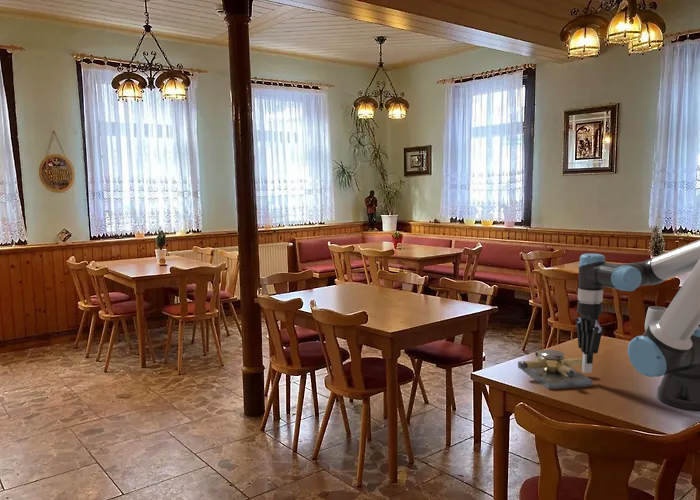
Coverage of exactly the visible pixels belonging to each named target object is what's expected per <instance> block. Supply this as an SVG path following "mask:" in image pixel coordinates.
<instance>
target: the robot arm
mask: <svg viewBox="0 0 700 500" xmlns="http://www.w3.org/2000/svg"><path fill="white" fill-rule="evenodd" d="M689 272H690V273H689ZM687 273H689V274H688V276H687V277H686V279H685V281H683V284H682V285H681V287H680V288H679V290H678V291H677V292H676V294H675V296H674V297H673V299H672V301H671V302H669V303H670V304H669V305H668V306H667V310H666V311H665V313H664V314H663V316H662V317H661V319H660V320H658V321H653V322H651V324H650V325H649V326H648V328H647V329H646V331H644V333H643V334H642V335H637V336H635V337H634V338H632V339H631V340H630V341H629V343H628V346H627V356H628V357H629V362H630V363H631V365H632V367H633V368H634V369H635V370H636V371H637V372H638V373H640V375H643V376H645V377H647V378H654V377H657V378H659V377H662V376H663V377H662V379H661V381H660V384H659V386H658V387H657V392H656V397H657V399H658V400H659V401H661V403H664V404H666V405H669V406H672V407H675V408H679V409H682V410H683V409H684V410H688V411H700V239H697V240H695V241H692V242H690V243H687V244H684V245H682V246H679V247H677V248H675V249H671V250H669V251H666V252H664V253H661V254H659V255H656V256H654V257H651V258H649V259H646V260H644V261H643V260H642V261H637V262H629V263H620V264H619V263H613V262H612V263H611V262H607V261H606V257H605V255H603V254H601V253H582V254H581V255H580V256H579V264H578V287H577V300H578V301H577V305H576V306H577V307H576V312H577V313H578V314H580V315H579V317H576V318H574V321H575V325H576V336H577V346H578V347H577V348H579V349H580V351H581V352H582V356H581V358H582V366H581V373H583V374H589V373H590V374H591V373H593V363H594V362H593V361H594V359H593V358H594V355H595V354H598V353H599V347H600V345H601V338H602V336H603V335H602V334H603V332H604V330H605V328H604V326H601V325H600V320H599V316H601V315H602V314H603V305H604V304H603V303H602V302H603V301H604V299H603V297H604V287H605V288H608V289H609V288H610V289H613V290H614V289H615V290H618V291H621V292H622V291H623V292H624V291H625V292H633V291H636V289H637V288H639V287H644V286H655V285H656V286H657V285H659V284H661V283H663V282H664V281H665V280H668V279H671V278H674V277H677V276H680V275H683V274H687Z"/></svg>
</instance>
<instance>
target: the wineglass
mask: <svg viewBox="0 0 700 500" xmlns="http://www.w3.org/2000/svg"><path fill="white" fill-rule="evenodd" d="M667 308H668V307H667ZM667 308H666V307H664V306H648V309H647V310H646V316H645V321H644V330H645V331H646V329H647V328H648V326H649V325H650V324H651V322H653V321H658V320H660V319H661V317H662V316H663V314H664V313H665V311H666V310H667ZM645 331H644V332H645Z"/></svg>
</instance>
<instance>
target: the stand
mask: <svg viewBox="0 0 700 500" xmlns="http://www.w3.org/2000/svg"><path fill="white" fill-rule="evenodd" d="M535 360H540V359H539V358H537V357H535ZM535 360H534V361H535ZM524 361H525V360H524ZM524 361H517V367H518V368H519V369H520V370H521V369H522V370H521V371H522V372H524V373H525V372H526V374H527V375H528V376H529V377H531V378H532V379H534V380H535V382H537V383H539V384H541V385H542V386H543V387H545V388H546V389H547V390H556V389H557V390H558V389H560V390H561V389H570V388H571V389H572V388H587V387H593V379H591V378H589V377H588V376H586V375H584V373H583V374H582V372H580V371H578V370H576V369H575V368H573V367H572V366H566V367H568V368H570V369H571V370H572V371H573V372H574V376H573V377H572V378H569V377H567V376H565V375H563V374H562V373H552V372H548V371H545V370H544V369H543V368H535V369H523V368H521V366H520V364H521V362H524Z"/></svg>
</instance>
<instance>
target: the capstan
mask: <svg viewBox="0 0 700 500" xmlns="http://www.w3.org/2000/svg"><path fill="white" fill-rule="evenodd" d="M534 355H535V356H536V358H539V359H540V360H524V362H521V364H520V366H521V368H523V369H535V368H543V369H544V370H545V371H548V372H552V373H562V374H563V375H565V376H567V377H569V378H572V377H573V376H574V372H573V371H572V370H571V369H570V368H568V367H566V366H570V367H578V366H579V367H580V366H581V367H582V357H571V358H568V357H567V358H565V353H564V352H562V351H558V350H555V349H543V350H536V351H535V352H534Z"/></svg>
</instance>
